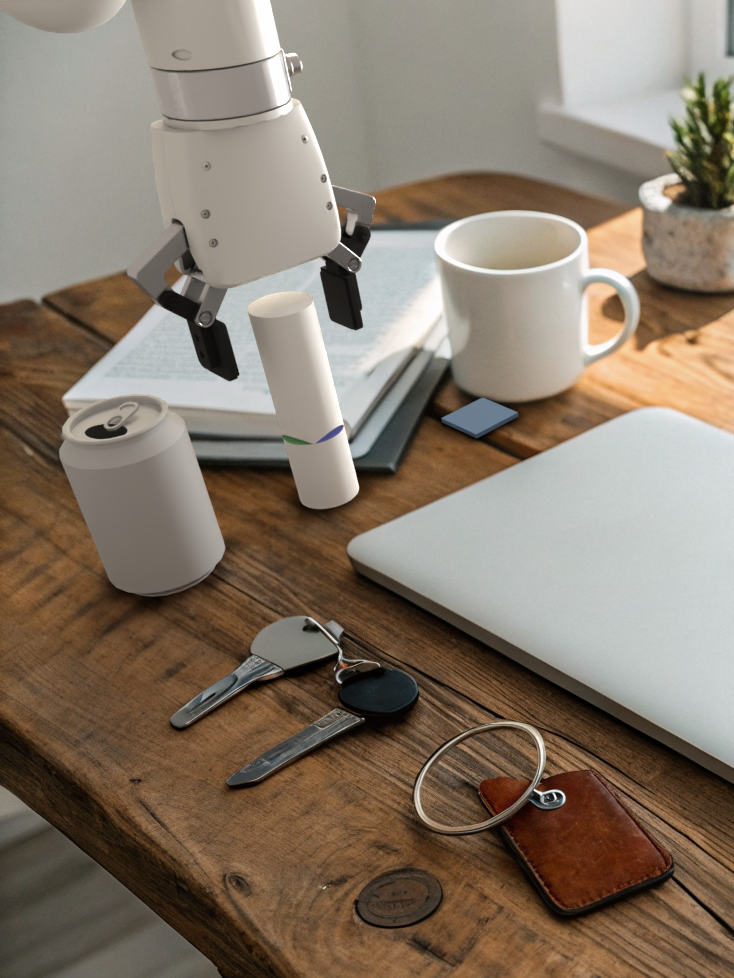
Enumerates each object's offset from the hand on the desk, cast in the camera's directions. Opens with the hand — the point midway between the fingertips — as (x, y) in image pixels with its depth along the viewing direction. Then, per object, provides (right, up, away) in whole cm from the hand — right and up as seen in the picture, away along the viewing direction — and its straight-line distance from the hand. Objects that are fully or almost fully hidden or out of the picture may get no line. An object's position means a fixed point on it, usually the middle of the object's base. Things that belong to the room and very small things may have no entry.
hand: (287, 348), depth 80 cm
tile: (+11, -4, +15) cm, 19 cm away
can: (-8, -15, 0) cm, 17 cm away
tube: (+1, -10, +7) cm, 12 cm away
